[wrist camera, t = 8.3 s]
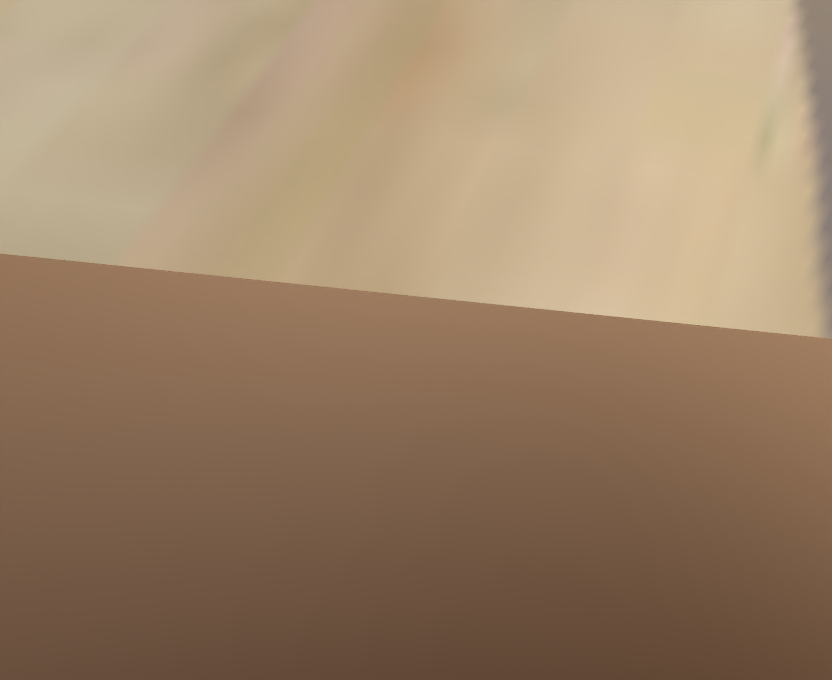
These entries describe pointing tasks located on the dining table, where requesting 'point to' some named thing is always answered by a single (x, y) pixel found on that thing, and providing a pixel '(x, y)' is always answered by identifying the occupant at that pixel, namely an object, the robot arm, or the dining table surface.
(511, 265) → the dining table surface
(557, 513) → the walnut block
